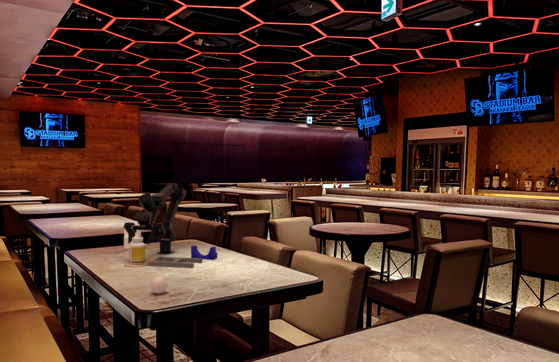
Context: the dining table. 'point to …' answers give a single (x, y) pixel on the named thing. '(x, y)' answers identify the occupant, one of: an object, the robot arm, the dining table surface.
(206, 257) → the cable clip
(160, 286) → the plastic egg
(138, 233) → the cylinder with rectangular tab
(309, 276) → the dining table surface
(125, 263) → the cork coaster
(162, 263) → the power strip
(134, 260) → the pill bottle
